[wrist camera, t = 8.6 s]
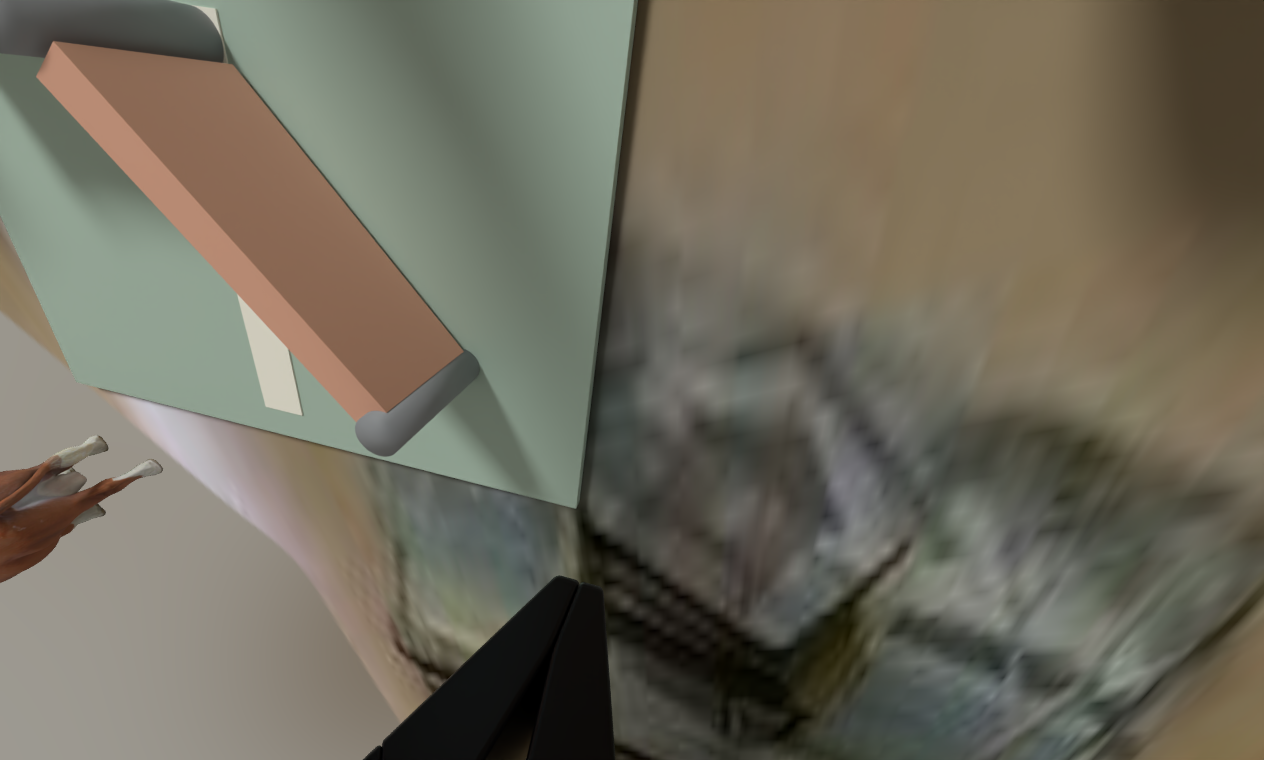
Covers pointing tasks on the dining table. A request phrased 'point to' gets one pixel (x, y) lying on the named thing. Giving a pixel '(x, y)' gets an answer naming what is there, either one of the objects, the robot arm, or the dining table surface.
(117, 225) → the card
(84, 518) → the bull figurine
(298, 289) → the salmon brown flat block
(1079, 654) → the dining table surface
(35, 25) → the bar
